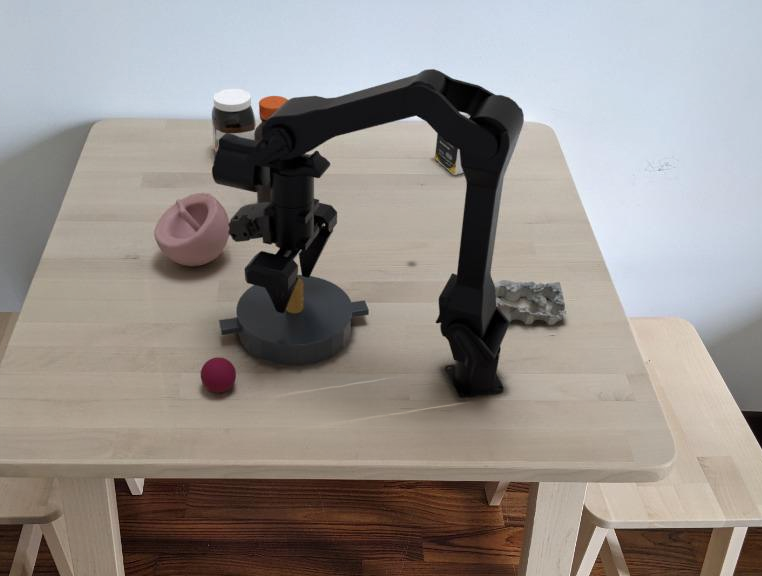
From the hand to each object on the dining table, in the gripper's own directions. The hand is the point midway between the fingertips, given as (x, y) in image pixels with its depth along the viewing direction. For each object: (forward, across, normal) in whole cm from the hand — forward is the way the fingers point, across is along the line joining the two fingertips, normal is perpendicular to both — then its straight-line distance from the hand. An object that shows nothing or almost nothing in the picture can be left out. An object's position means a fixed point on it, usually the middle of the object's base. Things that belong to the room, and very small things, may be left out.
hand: (293, 293), depth 130 cm
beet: (+6, +15, -3) cm, 16 cm away
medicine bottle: (+7, -59, +9) cm, 60 cm away
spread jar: (+7, -46, -30) cm, 55 cm away
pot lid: (+3, 0, 0) cm, 3 cm away
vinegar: (+7, -30, -16) cm, 35 cm away
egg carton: (+7, -18, +30) cm, 36 cm away
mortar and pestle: (+7, -11, -22) cm, 26 cm away
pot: (+7, 0, 0) cm, 7 cm away
